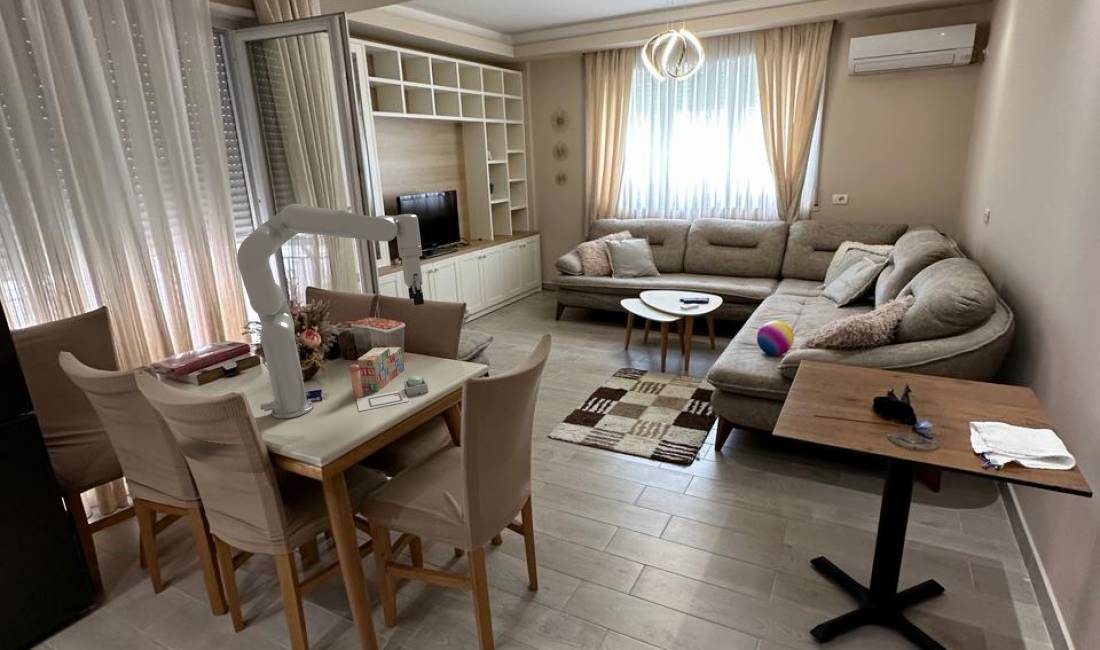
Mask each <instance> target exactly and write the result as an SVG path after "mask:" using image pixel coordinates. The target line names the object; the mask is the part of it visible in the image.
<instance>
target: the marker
mask: <svg viewBox="0 0 1100 650" xmlns="http://www.w3.org/2000/svg"><path fill="white" fill-rule="evenodd" d="M348 371H349V375H350V382H351V388H352V392H353V393H352V394H353V399H354V400H356V399H358V398H363V397H365V395H364V391H363V388H362V382H361V376H360V368H359V365H358V363H357V364H355V363H354V364H350V365H348Z"/></svg>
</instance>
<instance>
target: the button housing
mask: <svg viewBox="0 0 1100 650" xmlns="http://www.w3.org/2000/svg"><path fill="white" fill-rule="evenodd" d="M422 382H423V384H422V385H417V386H412V387H409V384H408V379H407V380H404V381H403V385H404V391H405V394H406V396H407V397H411V396H415V395H414V394H416V395H419V394H418V393H421V394H423V393H422V392H426V393H428V392H429V386H428V382H427V381H426V379H425V377H422ZM427 391H428V392H427ZM410 395H411V396H410Z"/></svg>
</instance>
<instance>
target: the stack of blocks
mask: <svg viewBox="0 0 1100 650" xmlns="http://www.w3.org/2000/svg"><path fill="white" fill-rule="evenodd" d="M357 364H358V365H359V368H360V376H361V382H362V388H363V392H380V391H381V390H382V389H383V388H384V387H386V386H387V385H389V383H390V382H391V381H393V380H394V379H395V378H396V377H397V376H399V374H401V373H402V372H404V371H405V366H404V365H405V364H404V357H403V352H402V347H398V346H395V347H391V346H390V347H373V348H372V349H370V350H369V351H368V352H366V353H364V354H363V355H362V356H360V357H359V358H357Z"/></svg>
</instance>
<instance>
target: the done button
mask: <svg viewBox="0 0 1100 650" xmlns="http://www.w3.org/2000/svg"><path fill="white" fill-rule="evenodd" d="M422 378H423V377H422V376H421V375H412V376H409V377H408V378H407V380H408V384H409V387H412V386H417V385H422V384H423V382H422Z"/></svg>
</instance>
